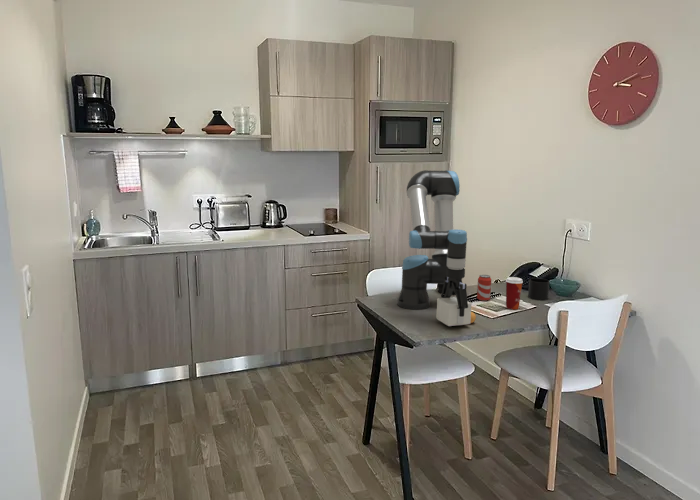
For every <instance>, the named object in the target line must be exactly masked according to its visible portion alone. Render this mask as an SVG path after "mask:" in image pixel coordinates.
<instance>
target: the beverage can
mask: <svg viewBox="0 0 700 500" xmlns="http://www.w3.org/2000/svg"><path fill="white" fill-rule="evenodd" d="M476 290H477V291H476V299H478V301H481V300H482V302H487V300H488V301H489V300H491V291H492V278H491V275H488V274H480V275H479V276H478V278H477V289H476Z"/></svg>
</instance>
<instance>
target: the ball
mask: <svg viewBox="0 0 700 500" xmlns="http://www.w3.org/2000/svg"><path fill="white" fill-rule="evenodd" d="M476 319H477V315H476V313H474V312H473V311H471V322H470V324H472V323H474V322H475V321H476Z"/></svg>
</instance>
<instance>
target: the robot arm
mask: <svg viewBox="0 0 700 500" xmlns="http://www.w3.org/2000/svg"><path fill="white" fill-rule="evenodd" d="M459 179H460V178H459V175H458V174H457V172H456V171H454V170H427V169H425V170H420V171H419V172H417V173H414V174H413V176H411V178H410V179H409V181H408V182H407V185H406V196H407V198H408V199H409V205H410V216H411V227H412V230H410V231H409V233H408V246H409V248H411V249H417V250H420V249H425V250H426V249H433V250H434V252H433V253H432V254H431V258H429V256H428V255H424V254H415V255H413V254H412V255H409V256H406V257H405V258H403V260H402V266H401V270H402V272H401V273H402V274H401V290H400V292H399V294H398V297H397V304H396V305H397V306H399V307H400V308H403V309H407V310H425V309H427V308H430V305H431V300H430V296H429V293H428V290H427V289H428V284H429V285H437V284H443V289H442V293H440V298H449V297H452V295H451V294H452V292H453V290H454V293H456V295H455V297H456V298H457V302H458V306H459V307H458V308H457V324H463V321H464V309H465V308H468V302H469V301H468V293H467V283H463V279H464V278H465V275H466V268H465V267H466V261H467V260H466V258H467V257H466V256H467V243H468V234H467V233H468V232H467V231H466V230H463V229H454V201H456V199H457V196H459V194H460V189H461V188H460V186H461V185H460V180H459ZM427 196H430V200H432V201H433V203H434V230H431V224H430V217H429V209H428V203H427ZM459 289H460V290H459Z"/></svg>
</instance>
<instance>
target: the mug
mask: <svg viewBox="0 0 700 500" xmlns="http://www.w3.org/2000/svg"><path fill="white" fill-rule="evenodd" d="M549 289H550V280H549V279H546V278H540V277H539V278H538V277H532V278H529V280H528V293H527V297H528V298H529V299H530V300H534V301H546V300H547V301H548V300H549Z"/></svg>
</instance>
